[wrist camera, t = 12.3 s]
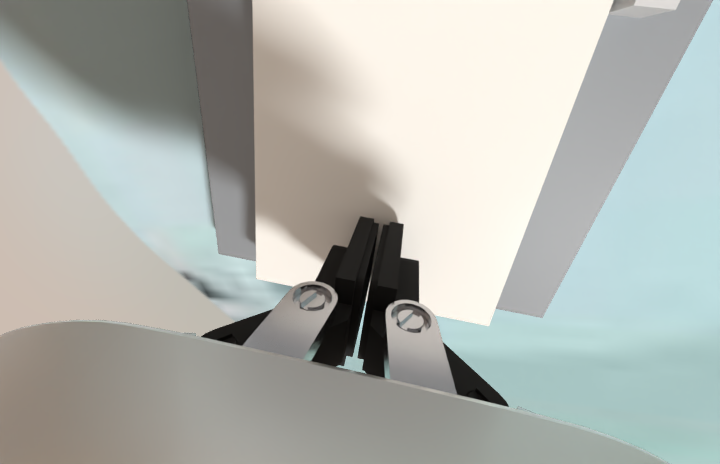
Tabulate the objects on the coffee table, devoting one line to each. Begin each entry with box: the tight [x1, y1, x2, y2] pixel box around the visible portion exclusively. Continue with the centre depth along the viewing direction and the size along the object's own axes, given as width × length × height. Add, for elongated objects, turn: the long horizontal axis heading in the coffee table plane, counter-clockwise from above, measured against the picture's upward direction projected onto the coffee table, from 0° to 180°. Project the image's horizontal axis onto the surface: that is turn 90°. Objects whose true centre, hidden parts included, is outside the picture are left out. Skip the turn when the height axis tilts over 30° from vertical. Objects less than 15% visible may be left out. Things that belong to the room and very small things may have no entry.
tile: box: [252, 0, 614, 326], centre depth 11 cm, size 11×10×1 cm
